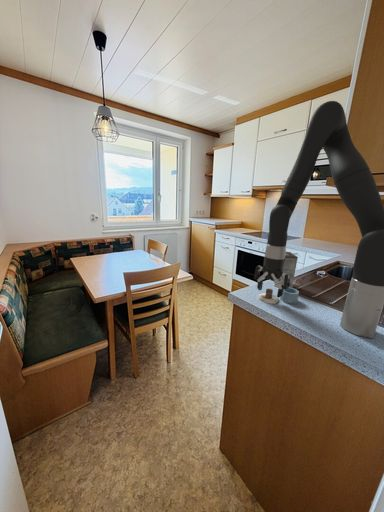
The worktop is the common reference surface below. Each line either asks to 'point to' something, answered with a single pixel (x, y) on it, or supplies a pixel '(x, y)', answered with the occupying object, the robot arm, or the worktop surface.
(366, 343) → the worktop surface
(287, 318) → the worktop surface
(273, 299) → the lid
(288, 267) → the coffee box
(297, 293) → the bowl
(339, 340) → the worktop surface
